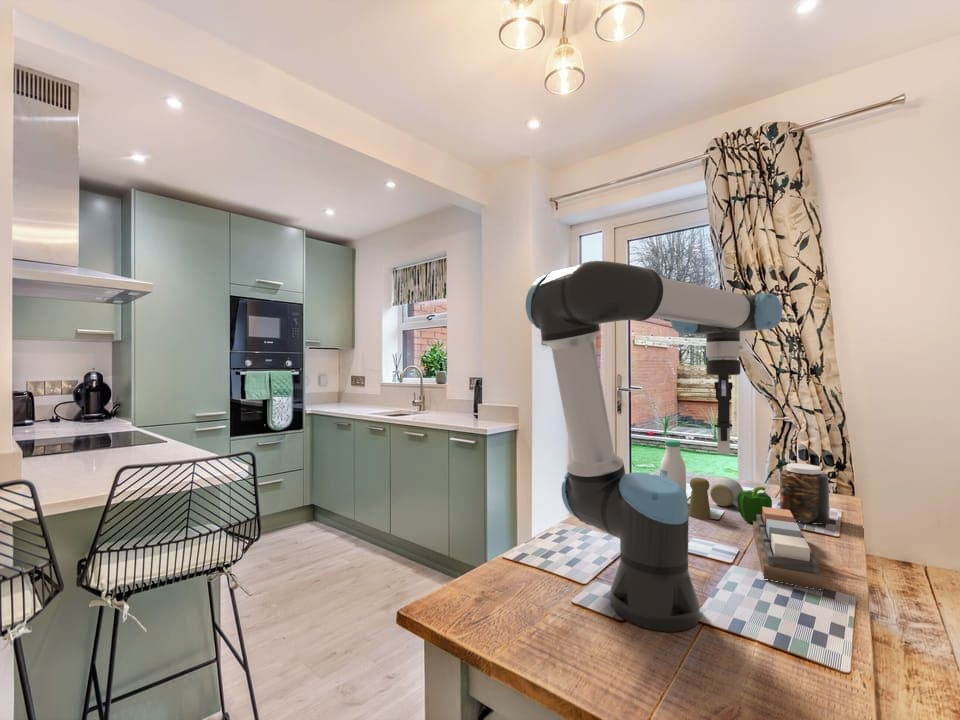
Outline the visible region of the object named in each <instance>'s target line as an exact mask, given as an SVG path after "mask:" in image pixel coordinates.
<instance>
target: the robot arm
mask: <svg viewBox="0 0 960 720" xmlns="http://www.w3.org/2000/svg"><path fill="white" fill-rule="evenodd" d="M525 312H526V316H527V318H528V320H529V322H530V323H531V324H532V325H534V327H535V328H537V329H538V330H540V334H541V339H542V343H544V345H547V346H548V347H550V349H551V351H552V357H553V358H552V359H553V362H554V369H555V373H556V377H557V382H558V383H557V384H558V390H559V393H560V394H559V395H560V398H561V399H560V400H561V405H562V410H563V416H564V421H565V427H566V430H567V437H568V441H569V447H570V453H571V457H572V458H571V460H570V462H569V463H568V464H567V467H566V470H567V472H566V474H565V475H564V477H563V479H564V481H562V483H561V498H562V501H563V504H564V506H565V508H566V510H567V511H568V512H569V513H570V515H572V516H573V517H575V518H576V519H578V520H579V521H580V522H582V523H584V524H585V525H587V526H592V527H594V528H597V529H598V530H601V531H603V532H605V533H607V534H608V535H611V536H613V537H615V538H617V539H619V542H620V543H619V547H620V548H619V550H620V551H619V552H620V559H619V560H620V561H619V564H618V566H617V567H618V568H617V569H616V573H615V575H614V579H613V581H612V585H611V587H610V605H611V604H612V605H611V607H612V606H613V607H612V609H613V608H614V609H615V610H616V611H617V612H618V613H619V614H620V615H621V616H623V617H624V618H625V619H624V618H623V619H624V620H626V621H627V622H629V623H631V624H633V625H636V626H638V627H641V628H645V629H647V630H653V631H658V632H668V633H670V632H671V633H673V632H675V633H676V632H682V631H687V630H689V629H693V628H694V627H695V626H696V625H698V623H699V622H700V602H699V599H698V596H697V594H696V590H695V587H694V585H693V582H692V579H691V578H692V577H691V575H690V573H689V572H690V571H689V518H690V516H689V507H688V505H689V503H688V496H687V491H686V492H685V490H684V489H683V488H682V487H681V486H680V485H679V484H677V483H676V482H674V481H672V480H670V479H667V478H665V477H662V476H660V475H658V474H650V473H647V472H629V473H626V470H625V462H624V459H623V458H622V457H620V456H619V455H617V454H616V453H615V451H614V445H613V440H612V434H611V429H610V422H609V418H608V411H607V406H606V401H605V396H604V390H603V385H602V379H601V378H602V377H601V372H600V367H599V362H598V356H597V352H596V346H595V340H596V338H597V336H598V335H599V334H600V332H601V330H600V329H601V328H600V324H606V323H612V322H620V321H637V322H644V321H647V320H649V319H653V318H655V319H662V320H669V321H670V325H671V327H672V328H673V330H674V331H675V332H677V333H680V334H685V335H688V336H689V335H705V336H706V339H705V341H706V343H705V357H706V358H707V361H706V363H705V364H706V369H705V370H706V375H709V376H717V381H715V382H714V383H713V384H714V389H715V400H716V401H717V419H716V421H717V423H716V424H714V428H717V430H716V431H717V454H719V455H731V428H732V427H733V423H731V422H730V421H731V420H730V418H731V417H730V416H731V414H730V413H731V412H730V407H731V406H730V404H731V403H730V401H731V400H732V390H733V382H732V381H729V379H730V376H739V375H740V374H741V360H739V359H740V357H741V350H743V349H744V346H743V345H742V344H741V332H747V331H748V332H749V331H750V332H751V331H759V332H760V331H763V330H770V329H771V330H772V329H774V328H776V327H777V326H779V324H780V323H781V320H782V317H783V306H782V303H781V300H780V299H779V297H778V296H776V294H774V293H769V292H768V293H761V292H760V293H757V294H744V293H739V292H733V291H728V290H723V289H720V288H719V289H718V288H715V287H713V288H712V287H709V286H705V285H698V284H694V283H689V282H685V281H680V280H675V279H672V278H666V277H662V276H661V275H660V273H658V272H657V271H655V269H651V268H646V267H643V266H642V267H641V266H638V265H632V264H627V263H621V262H614V261H608V260H607V261H606V260H590V261H586V262H582V263H578V264H577V265H573V266H570V267H566V268H562V269H559V270H554V271H552V272H551V271H550V272H548V273H547V274H545V275H542V276H540V277H539V278H537V279H536V280H535V281H534V282H533V283H532V285H531V286H530V288H529V290H528V292H527V294H526V297H525ZM740 344H741V345H740ZM738 358H739V359H738ZM614 609H613V610H614ZM615 610H614V611H615ZM620 615H619V616H620ZM621 616H620V617H621Z"/></svg>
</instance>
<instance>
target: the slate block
mask: <svg viewBox="0 0 960 720" xmlns="http://www.w3.org/2000/svg"><path fill="white" fill-rule="evenodd" d="M797 524H798V522H797V523H794V522H786V521H778V520H771V519H766V531H767V535H768V538H770V539H771V533H772V534H779V535H786V536H792V537H799V538H801V533H802V530H801V528H800V526H799V524H798V525H797ZM798 526H799V527H798ZM799 528H800V529H799Z"/></svg>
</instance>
